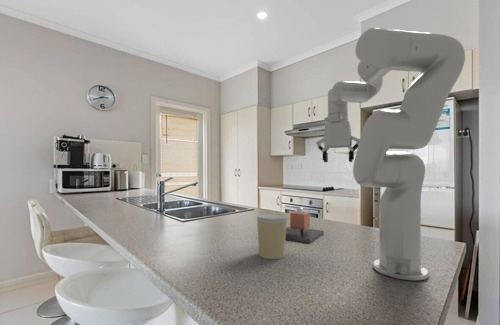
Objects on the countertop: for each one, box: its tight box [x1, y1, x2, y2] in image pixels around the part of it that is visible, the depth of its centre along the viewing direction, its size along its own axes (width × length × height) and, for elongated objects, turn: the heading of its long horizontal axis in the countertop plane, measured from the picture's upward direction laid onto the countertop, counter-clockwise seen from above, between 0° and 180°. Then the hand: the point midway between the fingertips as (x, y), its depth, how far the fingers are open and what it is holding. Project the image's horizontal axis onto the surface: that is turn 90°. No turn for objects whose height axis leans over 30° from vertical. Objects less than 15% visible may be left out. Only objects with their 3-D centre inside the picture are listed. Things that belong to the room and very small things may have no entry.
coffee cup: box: [256, 213, 288, 260], centre depth 80 cm, size 9×9×12 cm
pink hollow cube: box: [289, 210, 311, 230], centre depth 105 cm, size 6×6×6 cm
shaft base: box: [285, 206, 325, 244], centre depth 103 cm, size 16×13×11 cm
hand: (337, 161), depth 103 cm, fingers open, 9 cm apart
